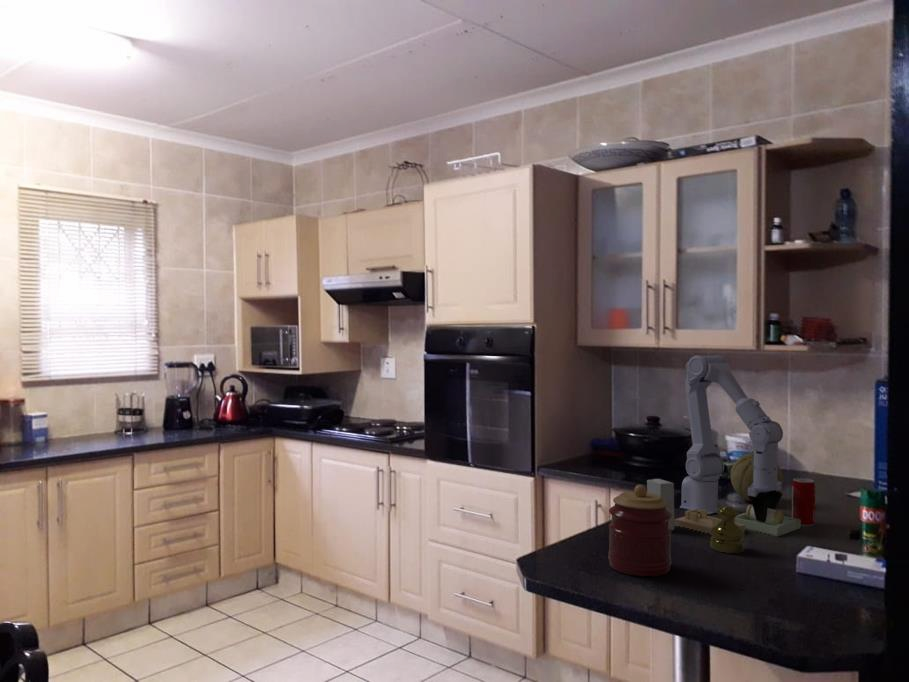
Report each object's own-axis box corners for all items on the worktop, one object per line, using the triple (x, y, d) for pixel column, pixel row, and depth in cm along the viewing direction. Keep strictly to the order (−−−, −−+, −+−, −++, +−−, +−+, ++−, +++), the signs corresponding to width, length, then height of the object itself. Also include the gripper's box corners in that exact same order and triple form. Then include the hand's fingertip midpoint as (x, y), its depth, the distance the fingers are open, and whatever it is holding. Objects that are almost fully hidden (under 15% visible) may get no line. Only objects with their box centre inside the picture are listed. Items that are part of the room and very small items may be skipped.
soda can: (817, 527, 181) (818, 481, 180) (794, 526, 182) (795, 480, 182) (811, 521, 186) (811, 477, 186) (789, 520, 187) (789, 476, 187)
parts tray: (728, 525, 182) (728, 516, 182) (752, 517, 190) (752, 509, 190) (777, 536, 172) (777, 527, 172) (800, 528, 180) (800, 519, 180)
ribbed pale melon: (757, 494, 218) (758, 447, 217) (794, 505, 204) (795, 455, 203) (719, 497, 213) (719, 449, 213) (753, 509, 199) (754, 457, 199)
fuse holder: (674, 525, 181) (674, 511, 181) (695, 519, 187) (695, 505, 187) (724, 537, 170) (725, 523, 170) (745, 531, 176) (745, 516, 176)
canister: (661, 582, 139) (662, 494, 139) (599, 570, 146) (600, 486, 146) (677, 564, 150) (679, 483, 150) (619, 553, 157) (620, 476, 157)
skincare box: (675, 530, 176) (675, 482, 176) (660, 531, 175) (661, 484, 175) (660, 524, 182) (660, 478, 182) (645, 525, 181) (646, 479, 180)
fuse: (745, 518, 183) (746, 505, 183) (752, 516, 185) (752, 503, 185) (777, 525, 176) (778, 511, 176) (784, 523, 179) (784, 510, 179)
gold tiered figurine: (728, 556, 156) (729, 512, 156) (703, 547, 163) (703, 504, 163) (751, 551, 160) (752, 508, 159) (725, 542, 166) (725, 501, 166)
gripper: (767, 473, 173) (766, 528, 173) (793, 467, 182) (792, 518, 182) (740, 469, 178) (739, 522, 178) (767, 463, 188) (766, 513, 188)
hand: (764, 520), depth 181 cm, fingers closed on fuse, 3 cm apart
